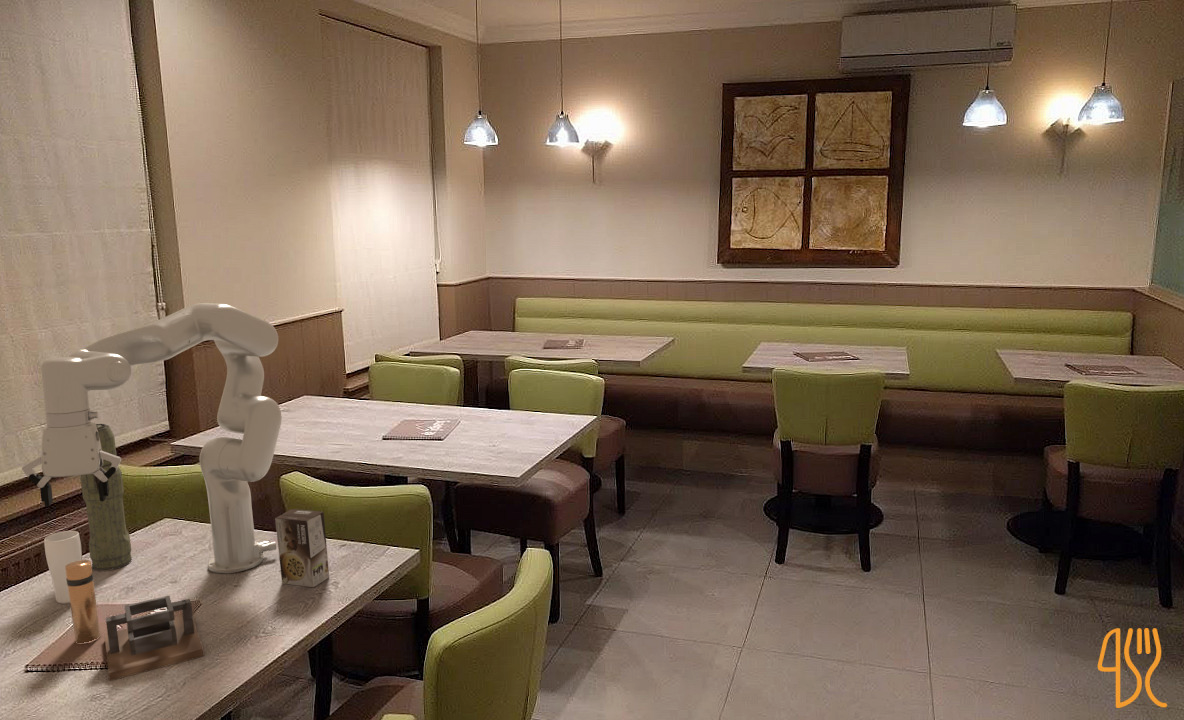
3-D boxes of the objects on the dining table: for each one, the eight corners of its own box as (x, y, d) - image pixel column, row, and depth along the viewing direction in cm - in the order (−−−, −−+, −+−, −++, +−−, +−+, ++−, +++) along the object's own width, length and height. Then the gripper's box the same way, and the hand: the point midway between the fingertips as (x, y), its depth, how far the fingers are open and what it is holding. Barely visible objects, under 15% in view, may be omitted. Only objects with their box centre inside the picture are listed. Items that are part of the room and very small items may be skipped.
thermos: (84, 575, 205) (66, 433, 200) (99, 556, 217) (82, 422, 211) (125, 570, 208) (108, 430, 202) (137, 552, 219) (121, 419, 213)
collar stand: (192, 619, 181) (187, 582, 179) (203, 655, 166) (199, 614, 164) (105, 640, 173) (100, 601, 171) (109, 680, 157) (103, 637, 156)
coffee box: (330, 576, 201) (325, 511, 198) (313, 588, 195) (307, 520, 192) (298, 572, 204) (292, 507, 201) (280, 583, 198) (274, 517, 195)
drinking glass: (71, 607, 188) (62, 542, 186) (45, 605, 190) (36, 540, 187) (94, 593, 195) (86, 531, 192) (69, 591, 196) (60, 529, 194)
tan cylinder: (100, 631, 177) (91, 558, 174) (101, 640, 173) (91, 565, 170) (74, 637, 174) (64, 563, 172) (74, 646, 170) (64, 570, 168)
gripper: (120, 412, 177) (127, 492, 180) (23, 419, 172) (31, 501, 174) (113, 419, 170) (121, 502, 173) (12, 426, 165) (21, 512, 167)
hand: (76, 502), depth 173 cm, fingers open, 9 cm apart
